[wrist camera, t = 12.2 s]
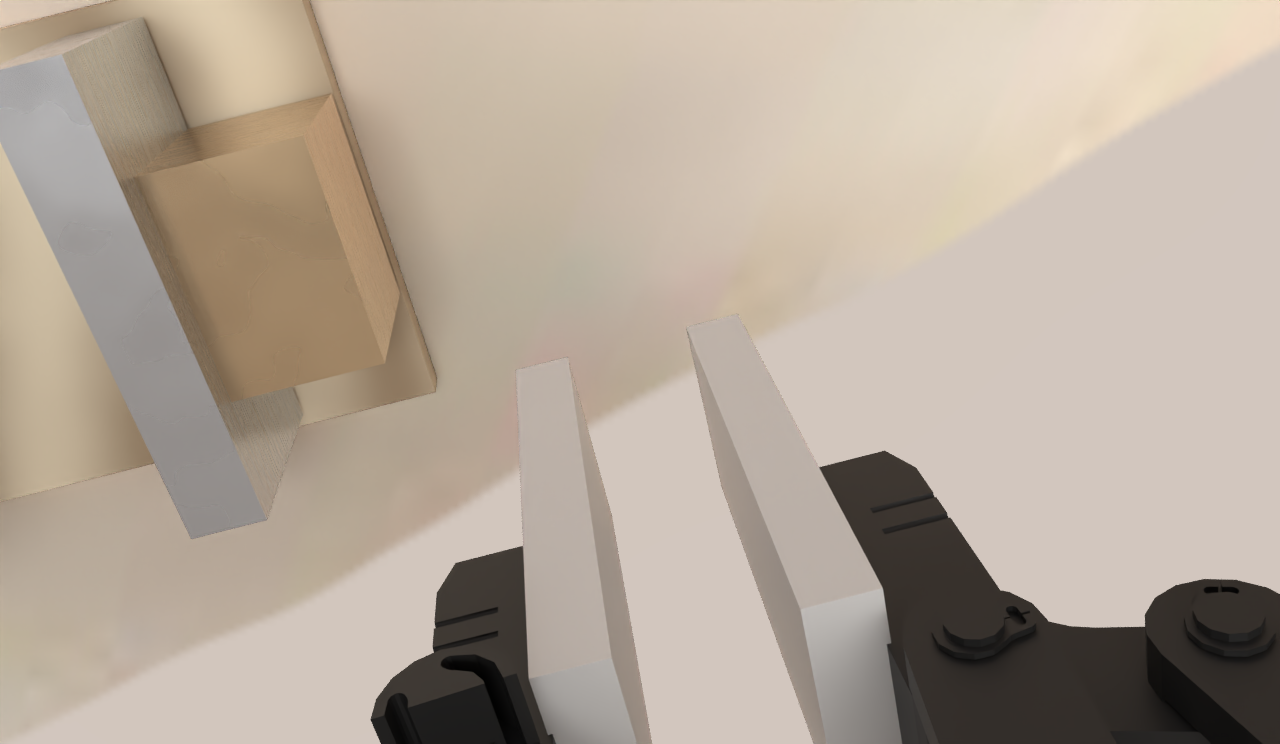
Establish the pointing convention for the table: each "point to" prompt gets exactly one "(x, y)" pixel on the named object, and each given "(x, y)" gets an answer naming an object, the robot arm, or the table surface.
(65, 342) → the press
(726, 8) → the table surface
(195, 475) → the slide jaw
